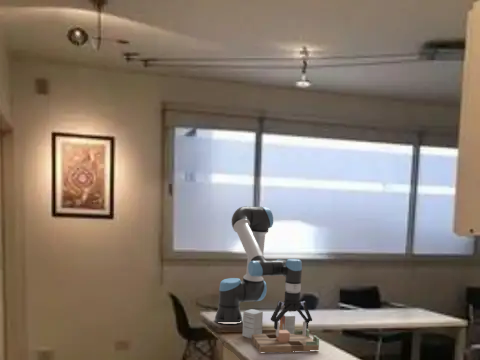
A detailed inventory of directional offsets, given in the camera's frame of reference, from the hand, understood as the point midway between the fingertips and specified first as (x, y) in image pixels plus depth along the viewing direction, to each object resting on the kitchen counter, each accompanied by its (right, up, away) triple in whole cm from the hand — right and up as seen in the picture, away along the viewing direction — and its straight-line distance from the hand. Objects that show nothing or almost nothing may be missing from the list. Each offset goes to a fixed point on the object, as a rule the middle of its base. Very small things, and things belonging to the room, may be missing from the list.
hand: (290, 335), depth 237 cm
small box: (0, -5, +19) cm, 19 cm away
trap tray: (-3, -5, -1) cm, 6 cm away
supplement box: (-18, -4, +13) cm, 23 cm away
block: (-4, -2, -1) cm, 4 cm away
